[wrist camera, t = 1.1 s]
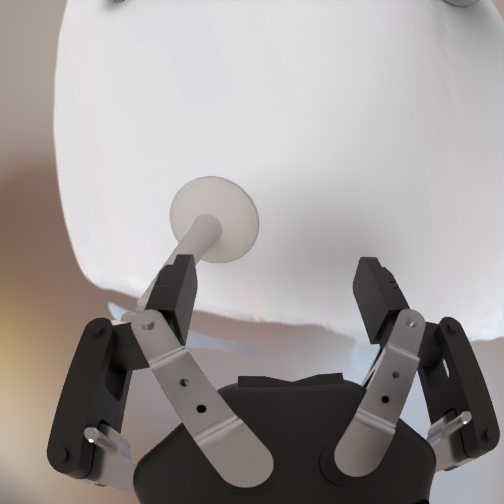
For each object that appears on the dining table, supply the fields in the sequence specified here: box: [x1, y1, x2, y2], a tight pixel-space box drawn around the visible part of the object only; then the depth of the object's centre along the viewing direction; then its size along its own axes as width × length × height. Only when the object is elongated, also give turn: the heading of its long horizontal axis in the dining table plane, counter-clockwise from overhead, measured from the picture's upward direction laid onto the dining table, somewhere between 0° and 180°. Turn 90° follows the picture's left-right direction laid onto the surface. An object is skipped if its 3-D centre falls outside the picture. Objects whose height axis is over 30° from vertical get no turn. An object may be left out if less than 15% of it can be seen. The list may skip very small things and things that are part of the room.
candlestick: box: [111, 176, 259, 325], centre depth 25 cm, size 13×13×30 cm
